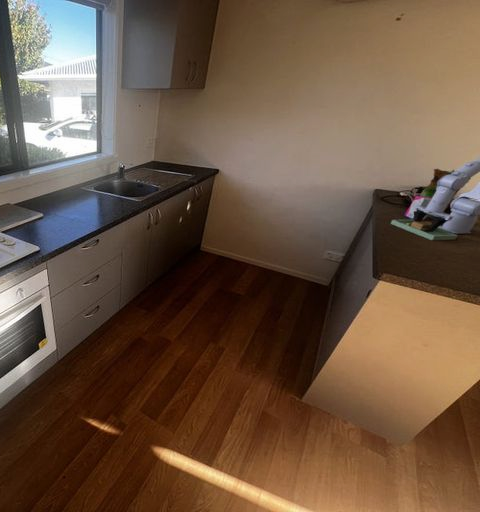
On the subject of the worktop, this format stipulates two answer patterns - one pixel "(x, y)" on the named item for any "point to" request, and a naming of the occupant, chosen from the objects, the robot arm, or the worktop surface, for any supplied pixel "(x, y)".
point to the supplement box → (417, 202)
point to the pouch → (435, 186)
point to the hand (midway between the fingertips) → (422, 228)
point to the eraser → (421, 225)
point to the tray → (435, 235)
